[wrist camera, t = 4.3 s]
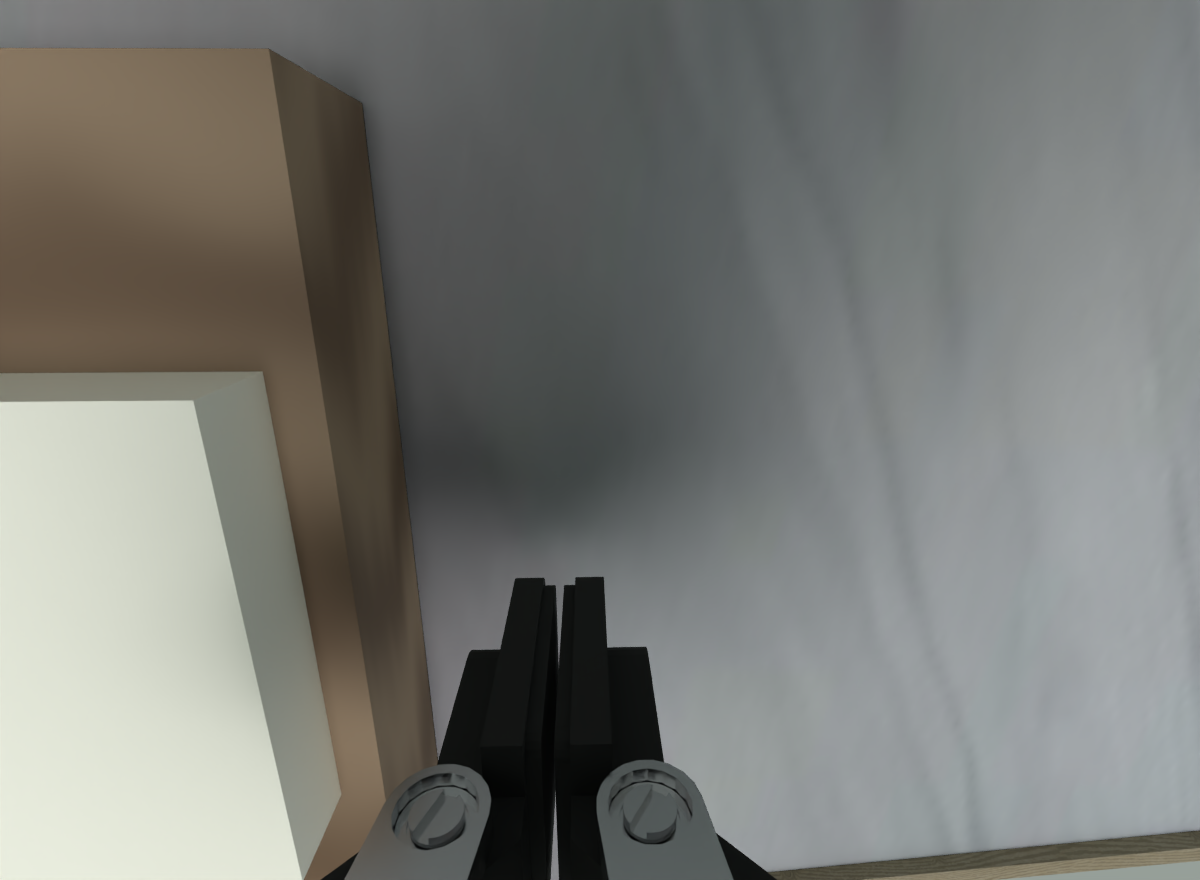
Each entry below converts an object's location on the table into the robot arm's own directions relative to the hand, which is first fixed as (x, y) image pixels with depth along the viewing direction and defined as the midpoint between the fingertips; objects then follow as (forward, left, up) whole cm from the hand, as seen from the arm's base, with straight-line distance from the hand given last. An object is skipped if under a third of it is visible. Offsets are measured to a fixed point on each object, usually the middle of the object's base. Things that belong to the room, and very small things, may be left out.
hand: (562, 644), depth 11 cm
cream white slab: (0, -9, -1) cm, 9 cm away
